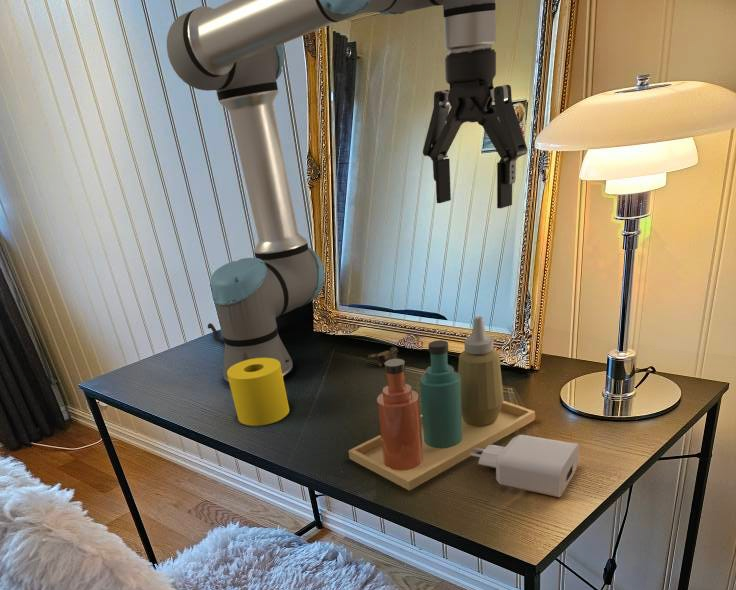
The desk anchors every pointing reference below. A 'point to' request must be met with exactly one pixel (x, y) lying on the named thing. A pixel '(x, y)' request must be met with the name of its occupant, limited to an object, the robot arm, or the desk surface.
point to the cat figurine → (384, 356)
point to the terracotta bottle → (399, 420)
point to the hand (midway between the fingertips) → (472, 204)
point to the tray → (443, 458)
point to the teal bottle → (441, 400)
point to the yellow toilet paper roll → (258, 391)
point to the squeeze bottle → (480, 378)
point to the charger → (532, 463)
